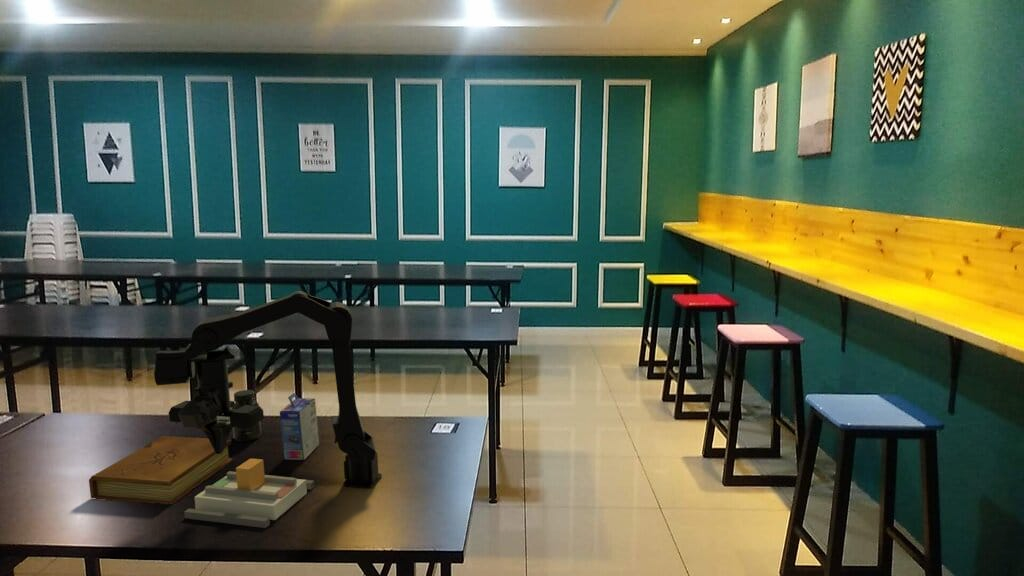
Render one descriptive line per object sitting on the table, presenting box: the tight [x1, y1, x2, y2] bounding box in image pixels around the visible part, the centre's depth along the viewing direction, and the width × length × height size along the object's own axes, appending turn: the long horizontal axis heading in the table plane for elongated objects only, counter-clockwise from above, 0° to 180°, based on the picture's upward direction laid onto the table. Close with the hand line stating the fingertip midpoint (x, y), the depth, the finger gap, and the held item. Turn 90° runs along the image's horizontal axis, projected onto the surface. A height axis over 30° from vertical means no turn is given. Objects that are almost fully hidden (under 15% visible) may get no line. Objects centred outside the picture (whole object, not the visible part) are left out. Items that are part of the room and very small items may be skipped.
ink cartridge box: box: [279, 392, 320, 461], centre depth 171 cm, size 10×6×14 cm, turn 174°
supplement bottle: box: [231, 389, 262, 443], centre depth 181 cm, size 7×7×12 cm
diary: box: [88, 435, 234, 505], centre depth 158 cm, size 23×19×6 cm
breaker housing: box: [194, 470, 308, 521], centre depth 146 cm, size 18×12×4 cm, turn 76°
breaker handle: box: [235, 458, 265, 490], centre depth 145 cm, size 3×5×5 cm, turn 166°
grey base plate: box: [183, 478, 315, 529], centre depth 146 cm, size 18×18×1 cm
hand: (219, 453), depth 146 cm, fingers closed
